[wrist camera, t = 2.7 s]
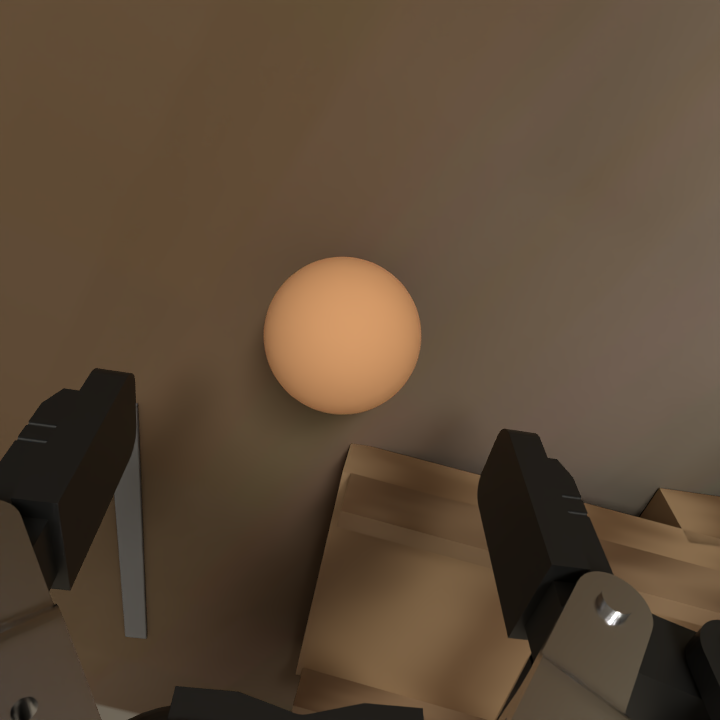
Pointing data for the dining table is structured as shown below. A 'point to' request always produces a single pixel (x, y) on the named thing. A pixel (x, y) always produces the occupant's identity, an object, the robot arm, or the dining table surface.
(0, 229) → the dining table surface
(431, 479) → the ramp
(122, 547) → the grey thin rod
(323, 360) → the ball
